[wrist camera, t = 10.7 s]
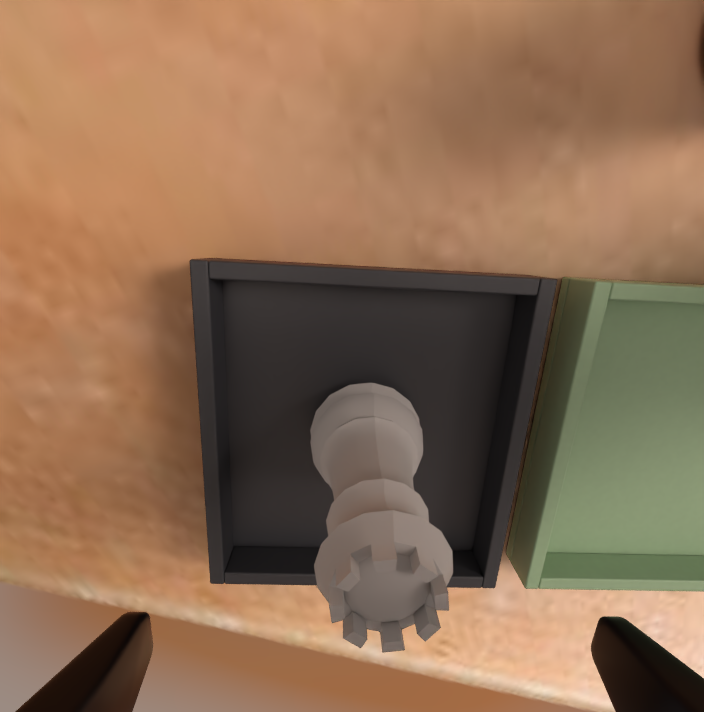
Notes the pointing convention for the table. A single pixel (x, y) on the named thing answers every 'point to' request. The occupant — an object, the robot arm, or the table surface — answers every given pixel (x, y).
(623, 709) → the robot arm
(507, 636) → the table surface
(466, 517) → the charcoal tray
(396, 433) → the rook chess piece
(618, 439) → the green tray
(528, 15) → the table surface
